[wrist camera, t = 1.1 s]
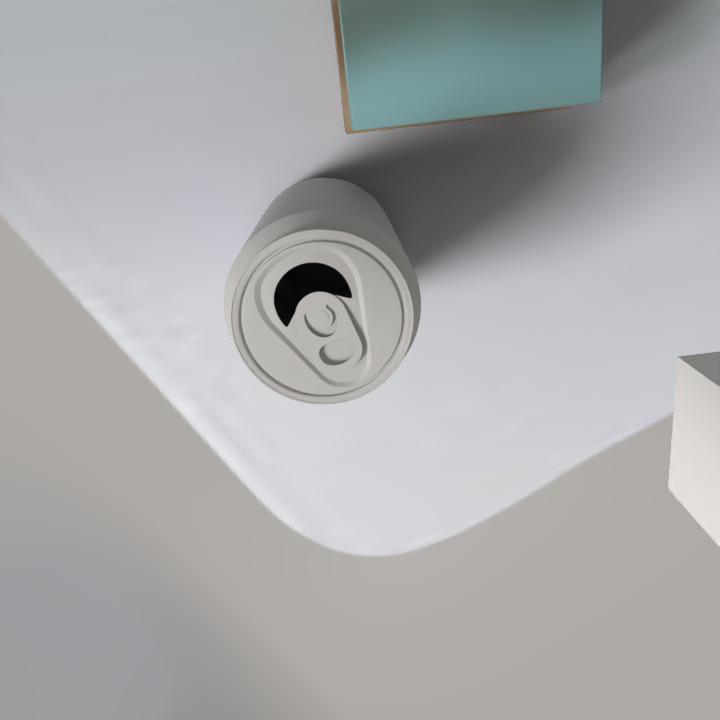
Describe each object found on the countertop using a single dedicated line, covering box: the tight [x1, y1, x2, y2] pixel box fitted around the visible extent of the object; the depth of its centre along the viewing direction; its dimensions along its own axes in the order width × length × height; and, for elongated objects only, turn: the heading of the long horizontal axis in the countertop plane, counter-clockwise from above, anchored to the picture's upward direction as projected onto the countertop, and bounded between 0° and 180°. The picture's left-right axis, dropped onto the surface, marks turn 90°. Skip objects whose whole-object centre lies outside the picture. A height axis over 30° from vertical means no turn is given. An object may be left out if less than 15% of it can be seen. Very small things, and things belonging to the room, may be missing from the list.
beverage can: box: [224, 178, 421, 404], centre depth 25 cm, size 6×6×12 cm
